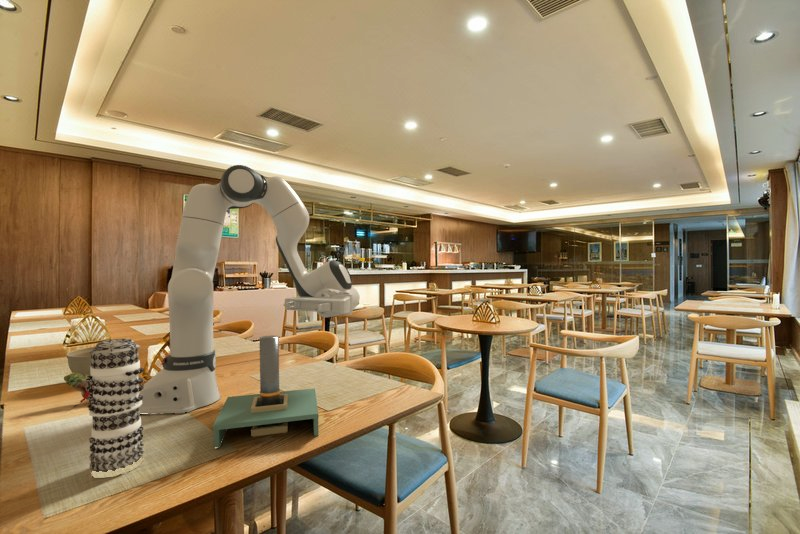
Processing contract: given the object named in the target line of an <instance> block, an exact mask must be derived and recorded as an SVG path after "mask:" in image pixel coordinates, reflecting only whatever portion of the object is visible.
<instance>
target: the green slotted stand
mask: <svg viewBox="0 0 800 534" xmlns="http://www.w3.org/2000/svg"><path fill="white" fill-rule="evenodd" d="M318 407H319V406H318V401H317V394H316V388H315V387H314V388H305V389H296V390H295V389H294V390H287V391H286V390H285V391H284V390H283V391H280V404H278V405H269V406H261V399H260V393H256V394H255V393H254V394H244V395H243V394H242V395H235V396H227V398H226V399H225V402H224V403H223V406H222V408H221V410H220V411H219V413H218V415H217V416H216V419H215V420H214V423H213V425H212V431H213V448H214V447H219V446H220V444H221V445H222V443H221V441H222V439H223V437H224V438H225V436H226V434H227V432H226V430H227V431H228V430H229V429H236V428H237V429H238V428H246V427H251V429H250V436H253V437H261V436H267V435H276V434H283V433H284V434H286V433H288V427H289V426H288V425H289V422H296V421H297V422H298V421H304V420H312V429H313V436H314V437H319V435H320V434H319V433H320V432H319V431H320V430H319V408H318ZM272 423H280V425H279V426H271V427H262V428H261V427H258V426H261V425H264V424H272ZM281 423H283V424H281ZM225 433H226V434H225ZM224 435H225V436H224ZM223 440H224V439H223ZM222 442H223V441H222ZM220 447H221V446H220Z"/></svg>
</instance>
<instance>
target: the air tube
mask: <svg viewBox="0 0 800 534" xmlns="http://www.w3.org/2000/svg"><path fill="white" fill-rule="evenodd" d="M279 349H280V341H279V335H263V336H260V337H259V384H260V385H259V386H260V387H259V389H260V390H259V394H260V399H261V406H269V405H278V404H280V392H281V389H280V350H279ZM279 425H281V423H272V424H264V425H260V428H262V427H271V426H279Z"/></svg>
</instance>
